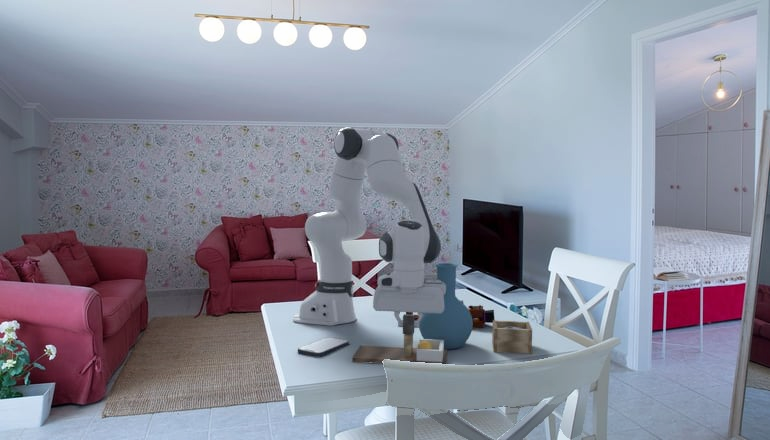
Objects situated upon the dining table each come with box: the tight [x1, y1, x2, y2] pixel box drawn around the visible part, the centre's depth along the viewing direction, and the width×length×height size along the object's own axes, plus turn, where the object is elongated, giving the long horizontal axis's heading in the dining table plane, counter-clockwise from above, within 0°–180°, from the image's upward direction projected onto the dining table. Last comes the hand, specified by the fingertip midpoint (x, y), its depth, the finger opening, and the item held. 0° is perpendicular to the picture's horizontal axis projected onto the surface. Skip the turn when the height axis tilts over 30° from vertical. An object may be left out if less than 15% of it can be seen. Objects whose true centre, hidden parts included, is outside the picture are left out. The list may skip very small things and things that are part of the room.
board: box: [351, 345, 448, 365], centre depth 167 cm, size 26×12×1 cm, turn 82°
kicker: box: [402, 313, 415, 357], centre depth 166 cm, size 3×6×11 cm, turn 172°
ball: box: [416, 341, 432, 349], centre depth 166 cm, size 4×4×4 cm
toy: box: [405, 299, 496, 329], centre depth 205 cm, size 26×7×30 cm
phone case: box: [297, 337, 350, 358], centre depth 175 cm, size 9×2×16 cm
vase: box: [418, 262, 473, 350], centre depth 179 cm, size 16×16×25 cm
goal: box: [417, 338, 445, 362], centre depth 165 cm, size 7×11×3 cm, turn 172°
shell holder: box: [491, 320, 533, 355], centre depth 177 cm, size 11×10×7 cm
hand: (408, 327), depth 166 cm, fingers closed on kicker, 3 cm apart
